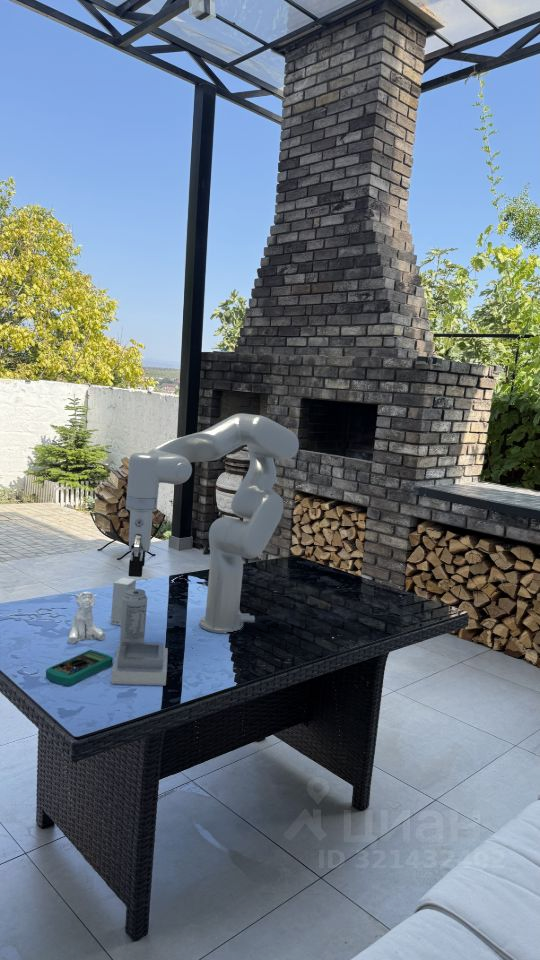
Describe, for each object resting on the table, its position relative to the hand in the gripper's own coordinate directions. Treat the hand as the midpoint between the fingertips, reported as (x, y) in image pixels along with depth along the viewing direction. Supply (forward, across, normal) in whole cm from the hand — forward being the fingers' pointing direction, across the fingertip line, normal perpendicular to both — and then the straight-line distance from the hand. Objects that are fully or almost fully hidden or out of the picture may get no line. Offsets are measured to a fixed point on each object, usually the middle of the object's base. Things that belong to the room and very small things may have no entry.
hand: (136, 570), depth 157 cm
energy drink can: (+20, 0, 0) cm, 21 cm away
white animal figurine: (+21, +7, +13) cm, 25 cm away
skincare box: (+20, +19, +4) cm, 28 cm away
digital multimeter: (+21, -14, +10) cm, 27 cm away
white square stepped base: (+20, -13, -3) cm, 24 cm away
